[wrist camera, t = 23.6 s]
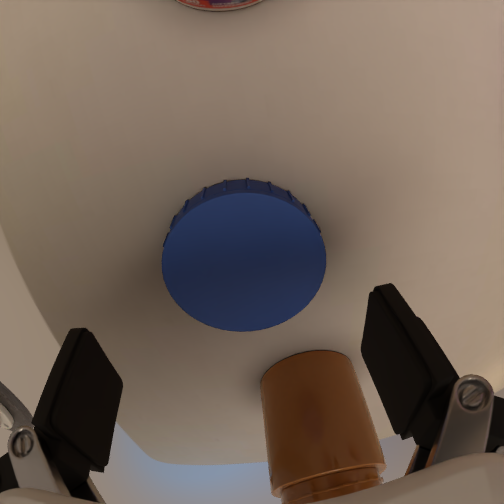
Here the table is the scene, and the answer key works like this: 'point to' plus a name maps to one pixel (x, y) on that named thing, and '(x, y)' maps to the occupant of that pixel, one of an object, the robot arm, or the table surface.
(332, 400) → the jar
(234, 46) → the table surface
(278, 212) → the jar lid
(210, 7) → the pill bottle
